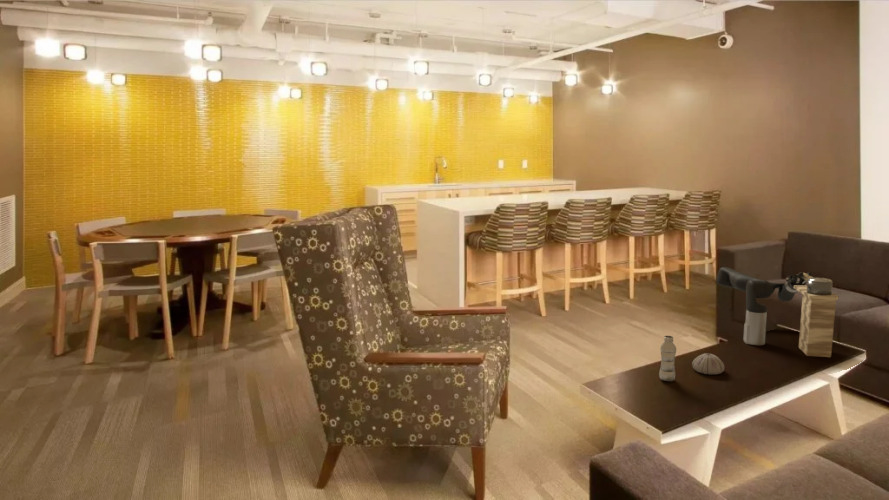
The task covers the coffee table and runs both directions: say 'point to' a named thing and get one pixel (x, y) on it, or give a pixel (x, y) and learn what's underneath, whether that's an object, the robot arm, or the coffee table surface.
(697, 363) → the sea urchin shell
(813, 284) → the saucepan
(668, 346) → the plastic bottle
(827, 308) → the stand
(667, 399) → the coffee table surface
